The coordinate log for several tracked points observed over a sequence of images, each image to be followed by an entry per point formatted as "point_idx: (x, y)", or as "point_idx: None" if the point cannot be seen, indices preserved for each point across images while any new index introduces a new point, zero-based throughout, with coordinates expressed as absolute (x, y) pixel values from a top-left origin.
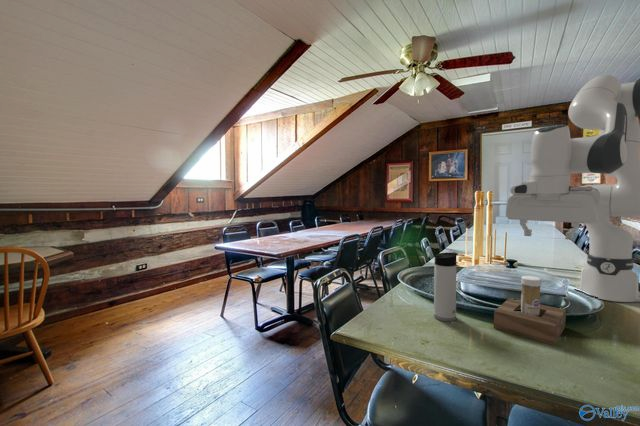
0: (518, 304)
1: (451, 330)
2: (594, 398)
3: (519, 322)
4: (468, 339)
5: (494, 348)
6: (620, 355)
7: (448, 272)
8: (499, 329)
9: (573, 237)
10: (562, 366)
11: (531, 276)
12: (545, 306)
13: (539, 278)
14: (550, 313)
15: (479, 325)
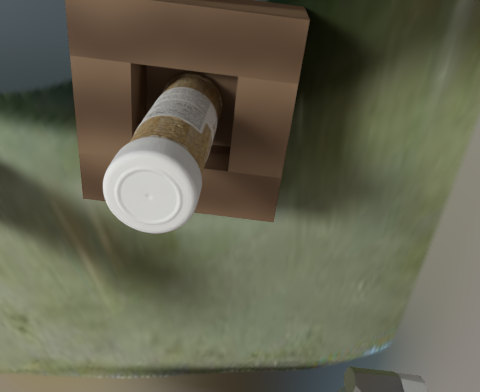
0: (127, 70)
1: (26, 242)
2: (336, 350)
3: None
4: (85, 266)
5: (151, 277)
6: (433, 154)
7: None
8: None
9: (423, 389)
10: (291, 280)
11: (143, 173)
12: (228, 26)
13: (187, 191)
14: (253, 111)
15: (64, 169)
